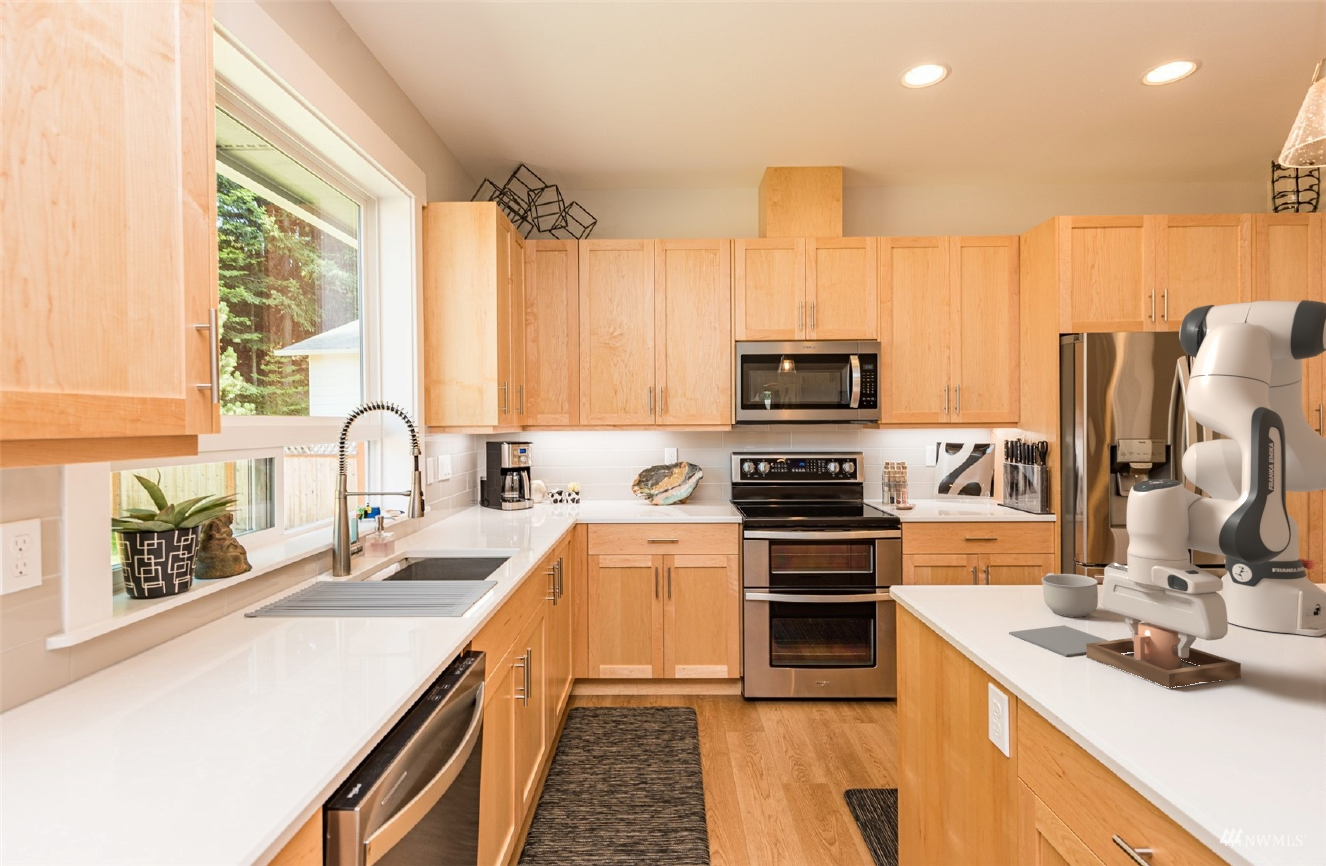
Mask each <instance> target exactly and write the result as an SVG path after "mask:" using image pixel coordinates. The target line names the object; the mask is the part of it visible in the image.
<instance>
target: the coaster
mask: <svg viewBox="0 0 1326 866" xmlns="http://www.w3.org/2000/svg"><path fill="white" fill-rule="evenodd" d="M1008 634H1009V635H1010V634H1011V636H1013V637H1016V638H1018V639H1021V640H1023V641H1025V642H1028V643H1031V644H1033V645H1036V646H1038V647H1041V648H1043V649H1046V650H1048V651H1051V652H1053V653H1055V654H1058V655H1061V656H1063V657H1065V658H1066V657H1074V655H1076V656H1082V655H1087V654H1086V644H1089V643H1096V642H1104V641H1109V640H1108V639H1105V638H1102V637H1100V636H1096V635H1094V634H1090V633H1088V632H1085V631H1082V630H1080V629H1076V628H1073V627H1070V626H1067V625H1057V626H1049V627H1040V628H1031V629H1024V630H1016V631H1014V630H1013V631H1009V632H1008Z"/></svg>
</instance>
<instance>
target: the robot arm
mask: <svg viewBox="0 0 1326 866" xmlns="http://www.w3.org/2000/svg"><path fill="white" fill-rule="evenodd" d="M1178 336H1179V343H1180V346H1181V349H1182V351H1184V353H1186V354H1187V355H1188V356H1189V357H1192V358H1195V359H1194V361H1193V365H1192V368H1191V371H1190V376H1189V379H1188V385H1187V388H1186V394H1185V406H1186V410H1187V412H1188V413H1189V415H1190V416H1191V418H1192V419H1193V420H1195V422H1197V424H1199V425H1201V426H1202V427H1204V428H1206V429H1208V430H1210V431H1212V432H1215V433H1218V434H1221V435H1223V436H1226V437H1228V438H1225V439H1224V438H1220V439H1219V438H1218V439H1212V440H1207V441H1205V440H1204V441H1200V442H1199V441H1198V442H1195V443H1192V444H1191V445H1190V446H1189V447H1187V449H1186V451H1185V452H1184V454H1183V457H1182V459H1181V467H1182V471H1183V475H1184V476H1185V477H1186V478H1187V480H1188V481H1189V482H1190V483H1192V484H1193V485H1194V486H1196V487H1197V488H1199V489H1200V490H1202V491H1204V492H1205V493H1206V494H1208V495H1209V497H1206V496H1202V495H1200V494H1197V493H1194V492H1192V491H1191V490H1189V489H1187V488H1185V485H1184V483H1183V482H1181V481H1180V480H1176V479H1170V478H1158V479H1147V480H1142V481H1139V482H1136V483H1135V484H1133V485H1132V486H1131V488H1130V490H1129V493H1128V497H1127V501H1126V502H1127V503H1126V519H1125V520H1126V531H1127V532H1126V533H1128V537H1129V539H1128V540H1129V544H1128V547H1127V550H1126V560H1127V562H1126V564H1123V563H1119V562H1110V563H1109V564H1107V565H1106V566H1105V567H1104V571H1103V574H1104V577H1103V581H1102V586H1101V596H1100V597H1101V598H1100V603H1101V606H1102V607H1103V608H1104V610H1105V611H1107V612H1111V613H1113V614H1116V615H1117V614H1118V615H1121V616H1124V617H1125V624H1126V625H1127V626H1128V628H1129V631H1130V632H1131V638H1132V641H1133V642H1134V635H1138V624H1140V623H1142V622H1143V623H1151V624H1154V625H1157V626H1161V627H1164V628H1168V629H1171V630H1174V631H1178V637H1179V638H1181V641H1180V643H1179V645H1173V655H1175V656H1177V657H1180V658H1188V657H1189V647H1191V646H1192V645H1193V644H1194V642H1196V640H1197V638H1198V639H1202V640H1205V641H1217V640H1222V639H1223V638H1224V637H1226V636H1227V634H1228V631H1229V630H1228V628H1229V627H1228V626H1229V625H1228V623H1230V624H1232V625H1235V626H1236V625H1237V626H1239V627H1245V628H1249V629H1254V630H1259V631H1266V632H1273V633H1286V634H1296V635H1304V636H1310V637H1320V636H1323V635H1326V592H1325V590H1324V589H1323V590H1322V589H1321V588H1320V587H1319V586H1317V585H1316V584H1315V583H1314V582H1313V581H1311V580H1310V579H1309V578H1308V577H1307V573H1306V570H1314V568H1315V565H1316V563H1315V561H1314V559H1305V558H1303V557H1302V558H1300V551H1299V549H1300V548H1299V543H1300V542H1299V525H1298V523H1297V521H1296V519H1294V518H1293V517H1292V516H1291V515H1289V514H1288V511H1287V509H1288V508H1287V492H1290V493H1291V492H1293V493H1299V492H1300V493H1306V492H1315V491H1317V492H1318V491H1325V490H1326V438H1325V437H1324V436H1322V435H1320V434H1319V433H1317V431H1315V430H1314V429H1313V428H1312V427H1311V425H1310V424H1309V423H1308V421H1307V419H1306V417H1305V414H1304V410H1303V399H1302V398H1303V397H1302V396H1303V395H1302V393H1303V392H1302V386H1303V385H1302V383H1303V360H1304V359H1309V358H1315V357H1318V356H1320V355H1322V353H1324V352H1326V303H1325V302H1322V301H1317V300H1310V299H1309V300H1305V299H1303V300H1301V301H1292V300H1256V301H1251V302H1237V303H1229V304H1228V303H1227V304H1222V305H1214V304H1209V305H1204V306H1198V307H1195V308H1192V309H1191V310H1190V311H1189V312H1188V313H1187V314H1186V315H1185V316H1184V318H1183V320H1182V323H1181V325H1180V328H1179V334H1178ZM1189 550H1195V551H1199V552H1201V553H1208V554H1213V555H1218V556H1225V557H1224V561H1223V562H1224V565H1225V566H1224V568H1225V570H1226V571H1227V572H1226V574H1224V575H1223V576H1222V577H1221V578H1219V577H1218V576H1217V575H1214V574H1212V573H1210V572H1207V571H1206V570H1204V569H1202V568H1200V567H1198V566H1196V565H1195V564H1194V563H1191V555H1190V552H1189Z"/></svg>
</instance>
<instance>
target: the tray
mask: <svg viewBox="0 0 1326 866" xmlns="http://www.w3.org/2000/svg"><path fill="white" fill-rule="evenodd" d="M1127 652H1134V642H1133V641H1132V637H1128V638H1121V639H1113V640H1108V641H1104V642H1096V643H1089V644H1086V654H1085V655H1086V659H1087V658H1088V659H1090V658H1091V659H1090V660H1092V659H1093V661H1095V660H1096V662H1097V663H1100V662H1102V663H1101V664H1103V663H1104V664H1103V665H1105V664H1106V666H1108V665H1111V666H1114V667H1116V668H1118V669H1121V670H1124V671H1126V672H1129V673H1132V674H1134V675H1137V676H1140V677H1142V678H1144V679H1148V680H1150V681H1152V682H1156V683H1158V684H1160V685H1162V686H1166V687H1169V688H1171V687H1172V688H1173V687H1175V686H1176V687H1177V686H1185V685H1186V686H1187V685H1190V684H1195V683H1199V682H1212V681H1218V682H1223V681H1222V680H1225V681H1230V680H1229V679H1231V680H1237V679H1241V678H1242V669H1241V668H1242V667H1241V665H1242V664H1241V662H1239V661H1235V660H1231V659H1228V658H1225V657H1222V656H1219V655H1215V654H1212V653H1209V652H1206V651H1203V650H1200V649H1197V648H1193V647H1191V646H1190V647H1189V657H1188V658H1181V659H1182V660H1184V661H1187V662H1191V663H1193V664H1196V665H1200V666H1196V665H1193V664H1192V665H1193V666H1187V667H1182V668H1181V669H1174V670H1165V669H1162V668H1159V667H1157V666H1154V665H1151V664H1148V663H1145V662H1143V661H1140V660H1138V659H1136V658H1134V657H1131V656H1128V655H1123V654H1121V653H1127ZM1184 661H1183V662H1184ZM1187 662H1186V663H1187ZM1111 666H1110V667H1111ZM1116 668H1115V669H1116ZM1118 669H1117V670H1118ZM1121 670H1120V671H1121ZM1124 671H1123V672H1124ZM1126 672H1125V673H1126ZM1129 673H1128V674H1129ZM1134 675H1133V676H1134ZM1142 678H1141V679H1142ZM1144 679H1143V680H1144ZM1219 680H1221V681H1219ZM1152 682H1151V683H1152ZM1212 683H1213V682H1212ZM1160 685H1159V686H1160ZM1162 686H1161V687H1162ZM1187 687H1188V686H1187Z"/></svg>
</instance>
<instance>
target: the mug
mask: <svg viewBox="0 0 1326 866" xmlns="http://www.w3.org/2000/svg"><path fill="white" fill-rule="evenodd" d="M1181 640H1182V638H1179V637H1178V631H1174V630H1171V629H1168V628H1164V627H1161V626H1157V625H1154V624H1151V623H1147V622H1139V624H1138V635H1134V654H1133V658H1134V659H1137V660H1140V661H1143V662H1145V663H1148V664H1151V665H1154V666H1157V667H1159V668H1162V669H1165V670H1174V669H1181V668H1183V667H1182V661H1181V658H1180V657H1177V656H1175V655H1173V645H1179V643H1180V641H1181Z"/></svg>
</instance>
